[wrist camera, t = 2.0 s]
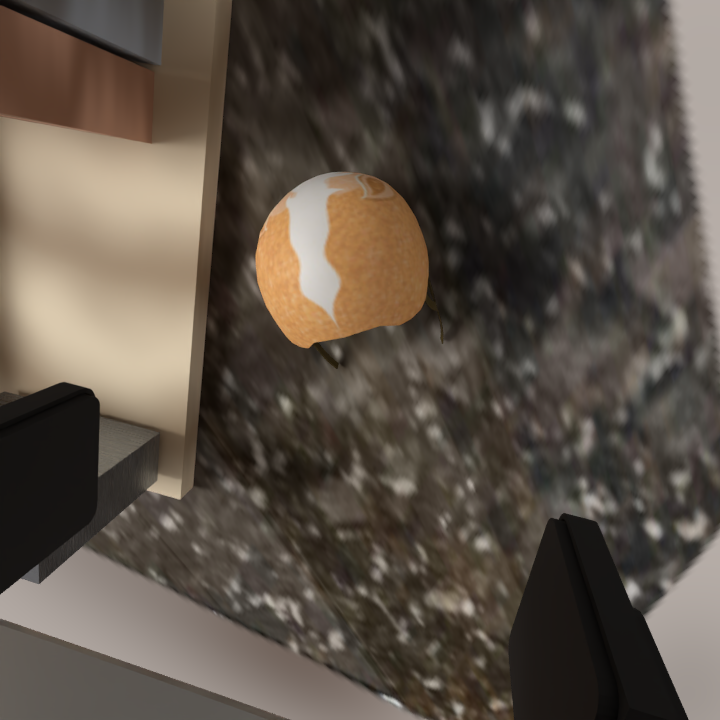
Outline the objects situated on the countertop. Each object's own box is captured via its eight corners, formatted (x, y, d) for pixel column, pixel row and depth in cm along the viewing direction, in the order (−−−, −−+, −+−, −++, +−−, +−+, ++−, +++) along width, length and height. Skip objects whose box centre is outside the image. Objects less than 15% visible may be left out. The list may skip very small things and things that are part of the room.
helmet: (445, 274, 23) (392, 106, 17) (468, 400, 19) (407, 235, 13) (326, 307, 25) (239, 163, 19) (322, 430, 20) (208, 295, 14)
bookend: (4, 391, 24) (-169, 459, 18) (159, 432, 23) (37, 522, 16) (7, 438, 25) (-159, 520, 18) (157, 480, 24) (39, 584, 17)
